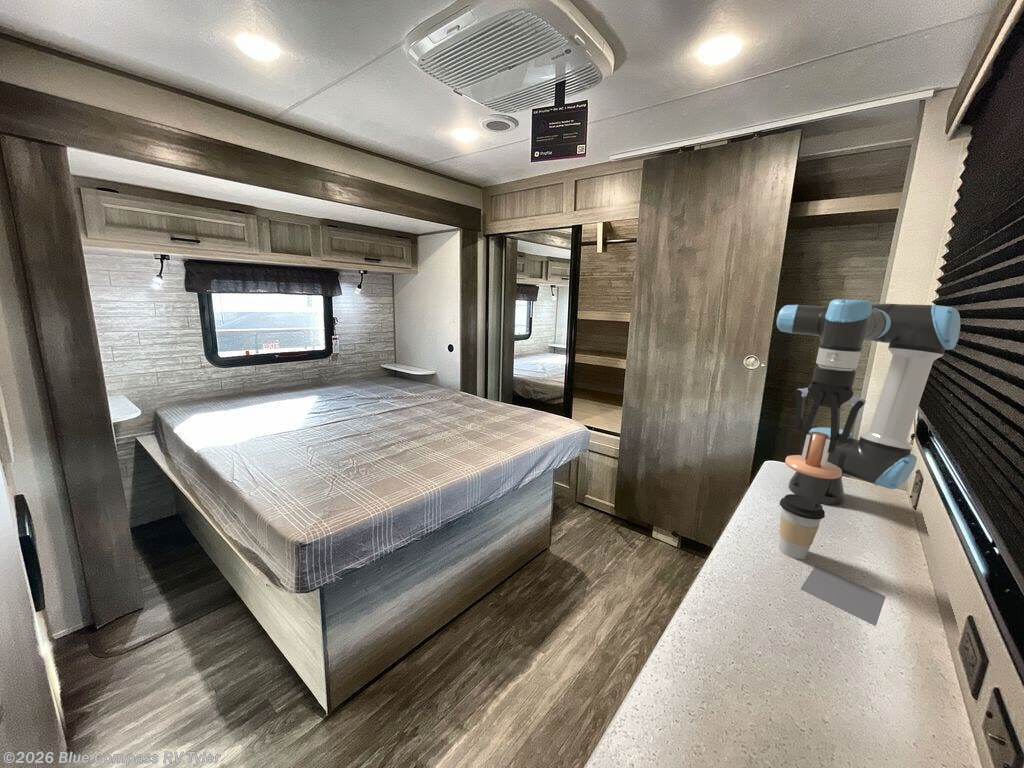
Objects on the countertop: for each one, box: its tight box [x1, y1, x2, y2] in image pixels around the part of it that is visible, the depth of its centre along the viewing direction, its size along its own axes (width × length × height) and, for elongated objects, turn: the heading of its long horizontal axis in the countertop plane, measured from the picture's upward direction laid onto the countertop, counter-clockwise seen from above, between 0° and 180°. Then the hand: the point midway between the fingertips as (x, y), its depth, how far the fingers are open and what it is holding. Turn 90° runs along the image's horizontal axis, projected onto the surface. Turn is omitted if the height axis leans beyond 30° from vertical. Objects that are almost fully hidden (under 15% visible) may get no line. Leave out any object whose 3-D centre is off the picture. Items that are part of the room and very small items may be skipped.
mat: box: [800, 565, 886, 627], centre depth 90 cm, size 13×13×1 cm
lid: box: [784, 432, 842, 479], centre depth 97 cm, size 11×11×9 cm
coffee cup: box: [778, 493, 826, 560], centre depth 103 cm, size 9×9×15 cm
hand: (813, 460), depth 98 cm, fingers closed on lid, 3 cm apart
